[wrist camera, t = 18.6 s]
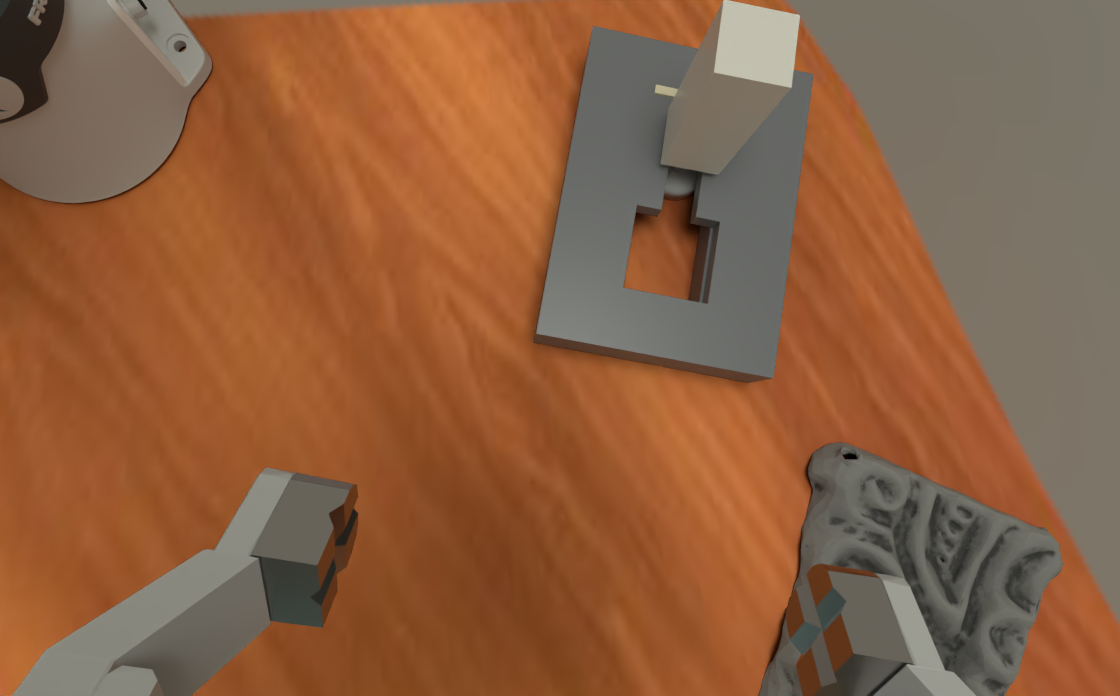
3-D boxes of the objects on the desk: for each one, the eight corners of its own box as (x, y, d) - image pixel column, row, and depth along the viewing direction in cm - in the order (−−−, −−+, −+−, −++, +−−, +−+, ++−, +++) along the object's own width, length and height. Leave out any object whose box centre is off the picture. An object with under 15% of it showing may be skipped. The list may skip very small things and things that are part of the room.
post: (697, 205, 47) (794, 92, 31) (640, 194, 47) (709, 75, 31) (704, 150, 48) (804, 12, 32) (648, 139, 48) (720, -5, 32)
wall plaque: (815, 430, 47) (843, 431, 43) (1045, 530, 47) (1093, 539, 43) (702, 749, 43) (721, 781, 39) (951, 853, 44) (994, 894, 40)
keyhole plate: (748, 382, 46) (774, 377, 42) (533, 342, 45) (536, 333, 41) (786, 105, 49) (814, 72, 44) (585, 62, 48) (593, 24, 44)
